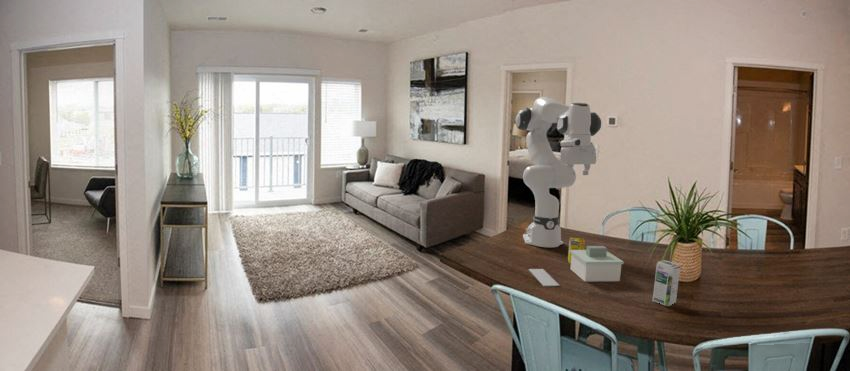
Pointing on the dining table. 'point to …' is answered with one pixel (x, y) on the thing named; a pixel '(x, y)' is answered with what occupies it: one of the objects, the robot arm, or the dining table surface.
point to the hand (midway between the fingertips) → (578, 175)
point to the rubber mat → (544, 277)
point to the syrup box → (666, 282)
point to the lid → (596, 255)
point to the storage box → (595, 271)
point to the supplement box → (575, 246)
